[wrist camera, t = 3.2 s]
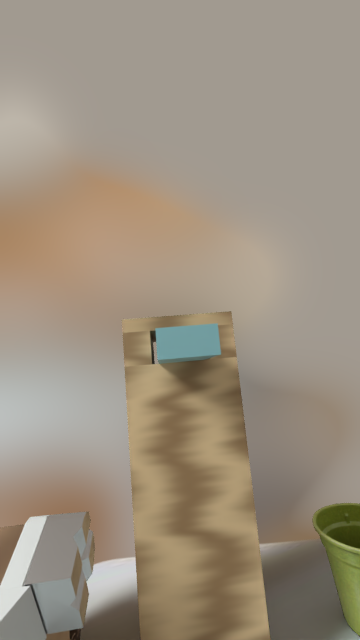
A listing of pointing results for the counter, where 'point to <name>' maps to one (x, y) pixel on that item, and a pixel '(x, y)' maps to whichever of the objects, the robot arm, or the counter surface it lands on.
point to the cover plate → (187, 343)
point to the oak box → (192, 490)
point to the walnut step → (3, 545)
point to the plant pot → (343, 554)
